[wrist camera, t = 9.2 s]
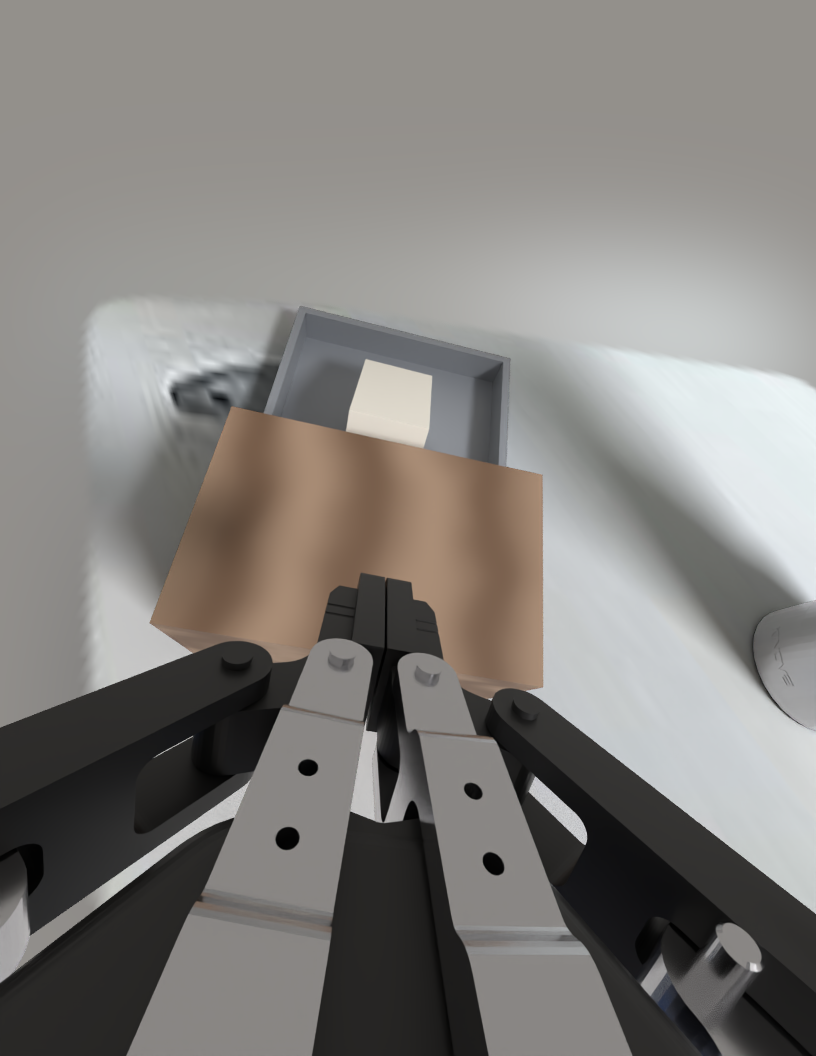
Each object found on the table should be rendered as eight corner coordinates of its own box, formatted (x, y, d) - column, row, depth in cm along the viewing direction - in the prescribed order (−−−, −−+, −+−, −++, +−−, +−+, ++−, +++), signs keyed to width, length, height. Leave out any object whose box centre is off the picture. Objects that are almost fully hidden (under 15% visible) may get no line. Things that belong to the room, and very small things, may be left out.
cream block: (410, 490, 31) (416, 432, 37) (429, 428, 28) (432, 375, 34) (339, 474, 31) (355, 418, 36) (349, 409, 27) (365, 358, 33)
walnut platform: (489, 534, 35) (542, 474, 27) (480, 700, 30) (543, 687, 22) (251, 486, 33) (231, 406, 25) (197, 655, 28) (149, 622, 20)
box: (497, 382, 42) (510, 358, 39) (489, 529, 35) (504, 512, 32) (300, 335, 39) (299, 305, 37) (253, 481, 33) (248, 458, 30)
